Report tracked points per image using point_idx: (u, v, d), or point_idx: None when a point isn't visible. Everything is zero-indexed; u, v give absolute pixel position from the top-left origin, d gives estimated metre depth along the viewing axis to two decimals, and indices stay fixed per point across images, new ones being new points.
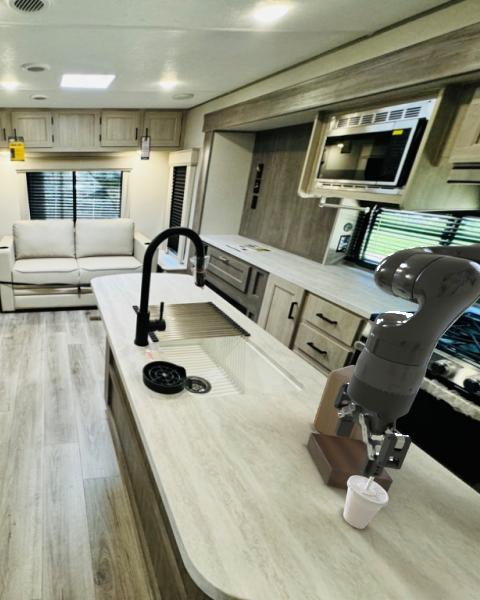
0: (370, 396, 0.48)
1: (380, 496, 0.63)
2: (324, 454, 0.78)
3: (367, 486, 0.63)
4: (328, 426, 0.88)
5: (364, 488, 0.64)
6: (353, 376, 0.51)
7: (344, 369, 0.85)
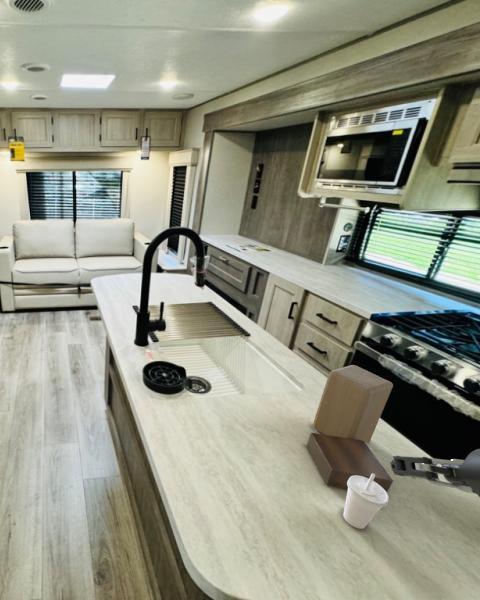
0: None
1: (380, 496, 0.63)
2: (324, 454, 0.78)
3: (367, 486, 0.63)
4: (328, 426, 0.88)
5: (364, 488, 0.64)
6: None
7: (344, 369, 0.85)
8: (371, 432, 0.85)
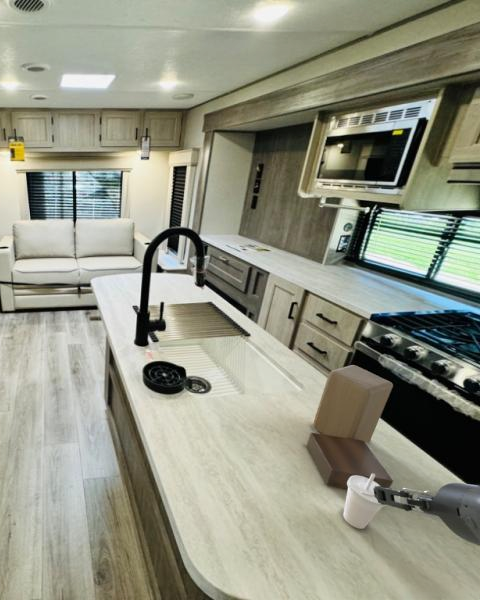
0: None
1: None
2: (324, 454, 0.78)
3: (367, 486, 0.63)
4: (328, 426, 0.88)
5: (364, 488, 0.64)
6: None
7: (344, 369, 0.85)
8: (371, 432, 0.85)
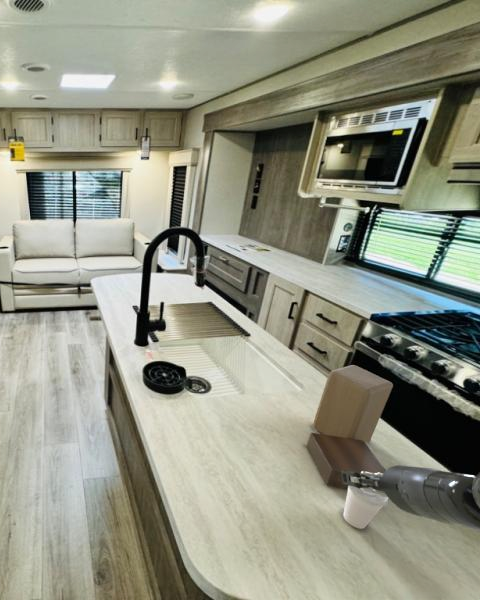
0: None
1: (380, 496, 0.63)
2: (324, 454, 0.78)
3: None
4: (328, 426, 0.88)
5: None
6: (422, 516, 0.50)
7: (344, 369, 0.85)
8: (371, 432, 0.85)
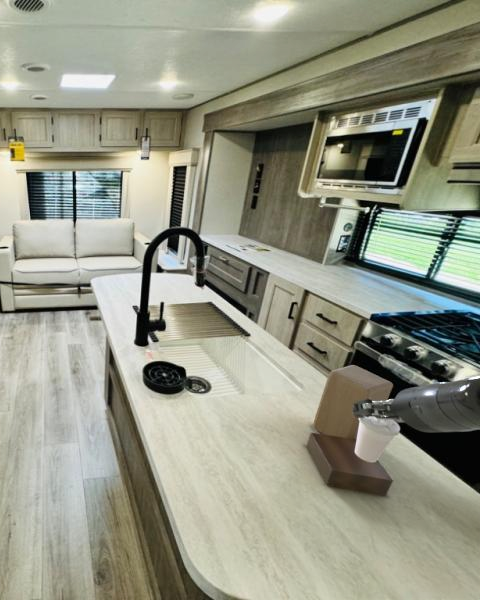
0: None
1: (391, 427, 0.64)
2: (324, 454, 0.78)
3: None
4: (328, 426, 0.88)
5: (375, 420, 0.65)
6: (435, 430, 0.51)
7: (344, 369, 0.85)
8: None
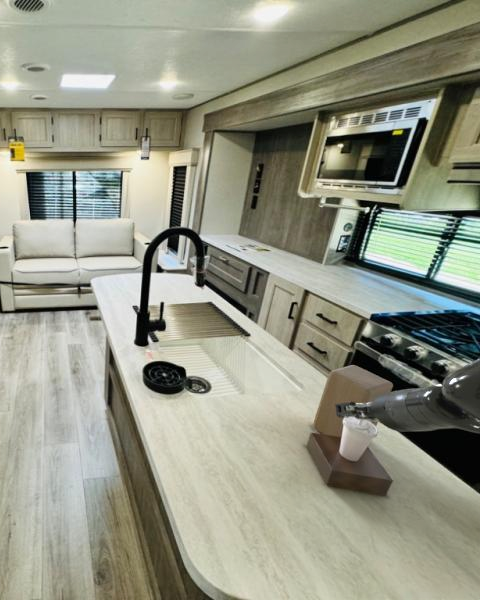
0: None
1: (371, 430, 0.72)
2: (324, 454, 0.78)
3: (360, 422, 0.73)
4: (328, 426, 0.88)
5: (357, 424, 0.74)
6: (405, 429, 0.60)
7: (344, 369, 0.85)
8: None
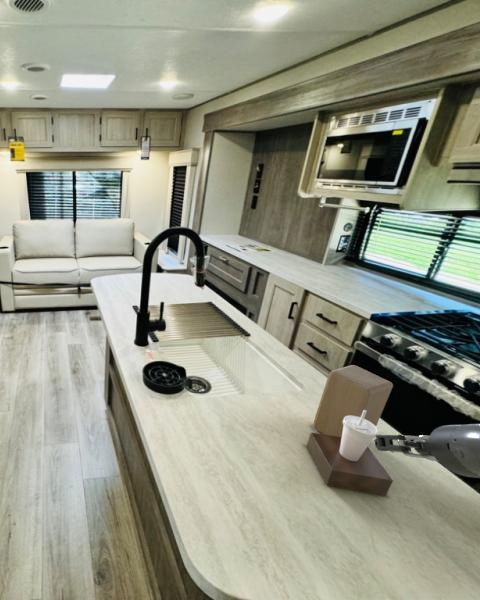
0: None
1: (371, 430, 0.72)
2: (324, 454, 0.78)
3: (360, 422, 0.73)
4: (328, 426, 0.88)
5: (357, 424, 0.74)
6: (478, 476, 0.46)
7: (344, 369, 0.85)
8: None
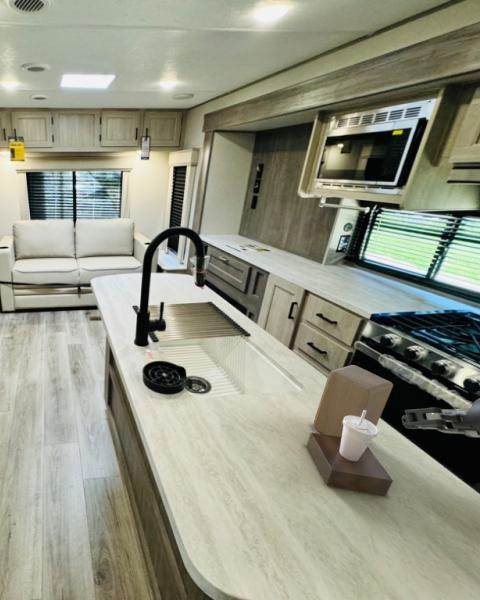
0: None
1: (371, 430, 0.72)
2: (324, 454, 0.78)
3: (360, 422, 0.73)
4: (328, 426, 0.88)
5: (357, 424, 0.74)
6: None
7: (344, 369, 0.85)
8: None
